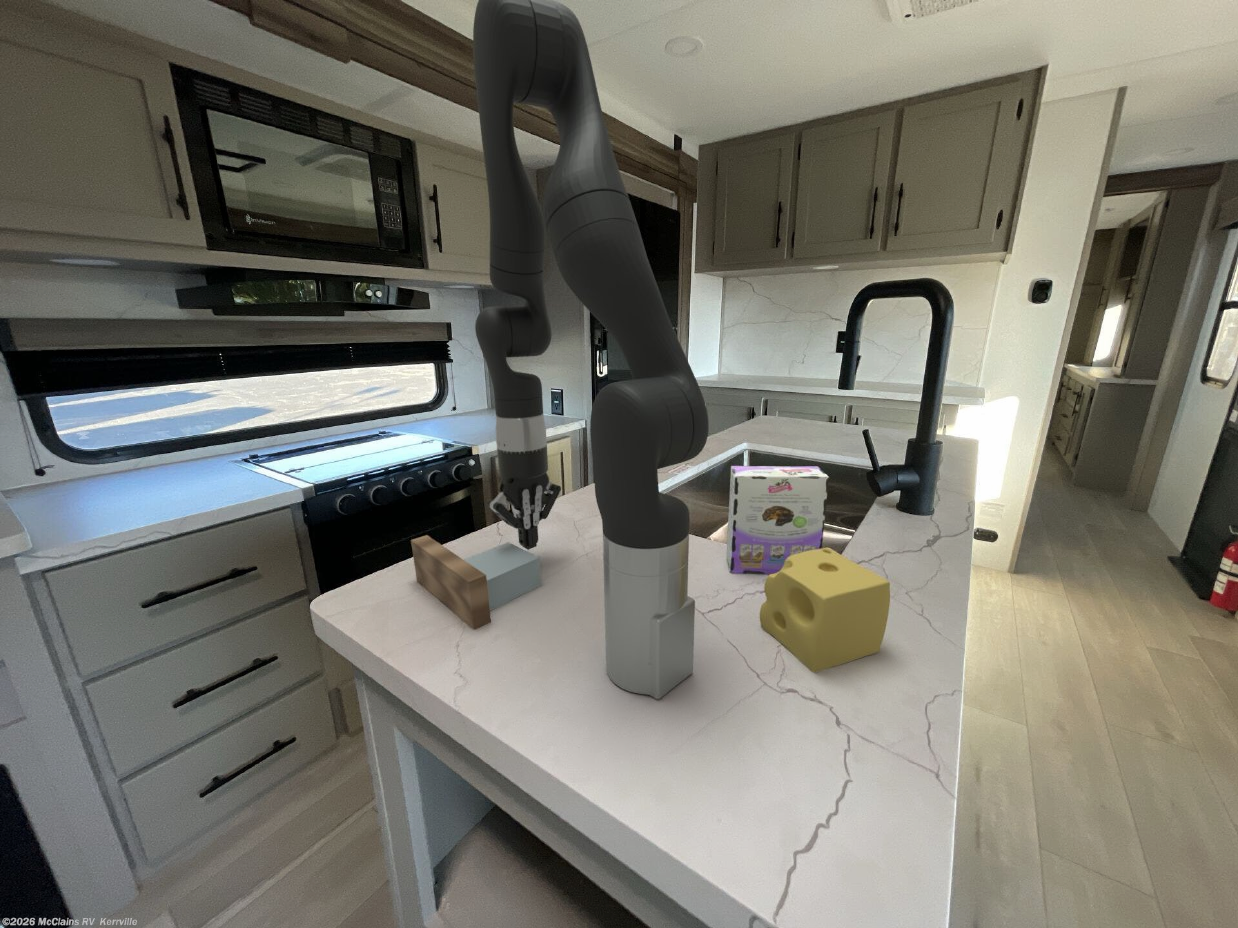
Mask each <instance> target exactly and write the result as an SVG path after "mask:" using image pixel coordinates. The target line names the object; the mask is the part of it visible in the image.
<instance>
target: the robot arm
mask: <svg viewBox="0 0 1238 928" xmlns="http://www.w3.org/2000/svg"><path fill="white" fill-rule="evenodd" d="M476 3H477V4H476V8H475V13H474V18H473V29H472V32H473V33H472V38H473V39H472V40H473V42H472V49H473V51H472V52H473V54H472V55H473V69H474V79H475V88H476V96H477V97H476V98H477V106H478V114H479V115H478V116H479V117H478V119H479V127H480V134H481V135H480V136H481V142H482V143H481V145H482V151H483V158H484V160H483V161H484V168H485V175H486V181H487V182H486V184H487V193H488V194H487V195H488V206H489V207H488V210H489V280H490V284H491V285H492V286H493V288H494V289H496V290H497V291H500V292H502V293H504V294H508V295H510V296H514V297H515V296H516V297H519V298H522V299H523V300H524V305H523V306H488V307H485V308H482V310H480V312H479V313H478V315H477V317H476V320H475V325H474V328H475V329H474V330H475V336H476V339H477V342H478V343H477V344H478V346H479V348H480V350H481V352H482V355H483V358H484V360H485V363H486V365H487V369H488V373H489V374H490V376H489V377H490V378H491V379H490V380H491V383H492V387H493V395H494V396H493V397H494V408H495V439H496V440H495V441H496V442H495V443H496V450H497V451H496V453H497V464H498V473H499V476H500V484H499V487H498V491H499V493H498V494H497V495H496V497H495V498H494V499H489V500H488V501H487V503H486V505H487V507H488V508H489V509H490V510H491V511H492V512H493V513H494V514H495V515H496V516H498V518H499V519H501V520H502V521H503V522H504V523H505V524H506V525H508V526H510V527H512V528H514V529H516V530H517V533H518V534H517V535H518V544H519V545H520V546H522V548H523V549H525V550H528V551H529V550H531V549H534V548H536V547H537V543H538V542H539V524H540V521H542V520H546V519H547V518H548V517H549V515H550V513H551V510H552V509H553V506H554V504H555V502H556V500H557V499H558V496H559V495H560V493H561V490H562V487H561V486H560V485H558V484H557V483H553V482H552V481H550V476H549V475H548V471H549V461H548V459H549V458H548V456H549V455H548V444H547V443H548V441H547V427H546V421H545V416H544V402H543V386H542V381H541V380H542V379H540V377H539V376H538V375H536V374H533V373H527V372H521V371H515V370H513V369H512V368H511V367H510V365H509V363H508V361H507V358H519V357H520V358H523V357H525V358H527V357H538V356H541V355H543V354H544V353H545V352H546V351H547V350H548V348H549V347H550V344H551V341H552V334H553V333H552V328H551V327H552V326H551V322H550V317H549V313H548V309H547V304H546V296H545V288H544V268H545V267H544V265H545V253H546V235H548V239H549V242H550V245H551V248H552V252H553V254H554V257H555V261H556V264H557V267H558V269H559V272H560V275H561V276H562V278H563V280H564V282H565V283H566V285H567V286H568V288H569V289H570V290H571V292H572V293H573V294H574V295H575V297H576V298H577V299H578V300H579V302H580V303H582V305H583V306H584V307H585V308H586V309H587V310H588V311H589V312H590V313H591V315H592V316H593V317H594V318H595V319H596V321H598V322H599V323H600V324H601V325H602V327H604V329H605V330H606V331H607V332H608V333H609V334H610V336H611V337H612V338H613V340H614V341H615V343H616V344H617V345H618V347H619V350H620V351H621V353H622V355H623V357H624V359H625V362H626V364H627V366H628V369H629V371H630V374H631V378H632V379H627V380H626V379H625V380H619V381H615V382H611V383H609V384H606V385H605V386H603V387H602V388H601V389H600V390H599V391H598V393H597V394H596V396H595V397H594V400H593V404H592V407H591V411H590V413H591V414H590V422H589V427H590V428H589V429H590V431H589V432H590V447H591V448H590V449H591V458H592V459H591V460H592V468H593V470H592V471H593V480H594V494H595V500H596V505H597V508H598V511H599V514H600V518H601V523H602V551H603V553H602V555H603V557H602V558H603V561H602V562H603V595H604V596H603V598H604V599H603V600H604V633H605V634H604V639H605V667H606V673H607V675H608V677H609V679H610V680H611V681H612V682H613V683H614V684H615V685H616V686H617V687H619V688H621V689H623V690H625V691H627V692H629V693H630V692H631V693H634V694H641V695H649V696H651V697H653V698H654V699H656V700H660V699H661V698H662V697H664V696H665V695H666V694H667V693H668V692H670V691H671V690H672V689H674V688H675V687H676V686H678V685H679V684H680V683H681V682H682V681H684V680H685V679H686V678H688V677H690V676H691V674H693V672H694V650H695V649H694V646H695V645H694V642H695V641H694V640H695V618H696V617H695V613H696V610H695V609H696V608H695V607H696V602H695V599H694V598H692V597H691V596H688V591H689V590H688V588H689V585H688V583H689V553H690V551H689V549H690V524H691V523H690V522H691V521H690V511H689V508H688V505H687V504H686V503H685V502H684V501H683V500H682V499H680V498H677V497H676V496H674V495H671V494H667V493H663V492H660V491H659V490H660V487H659V475H658V474H659V473H658V470H660V469H663V468H667V467H671V466H674V465H678V464H681V463H685V462H688V461H691V460H692V459H694V458H696V457H697V456H698V455H699V454H700V453H701V452H702V451H703V450H704V447H705V446H706V444H707V442H708V441H707V440H708V437H709V431H710V430H709V426H710V425H709V424H710V423H709V415H708V413H709V412H708V409H707V405H706V401H705V398H704V396H703V393H702V390H701V387H700V386H699V383H698V381H697V379H696V377H695V374H694V371H693V370H692V369H693V368H692V367H691V365H690V363H689V361H688V359H687V356H686V354H685V352H684V349H683V348H682V345H681V343H680V341H679V338H678V336H677V333H676V331H675V330H674V326H673V324H672V321H671V320H670V317H669V313H668V312H667V309H666V306H665V303H664V300H663V298H662V295H661V292H660V288H659V287H658V284H657V281H656V278H655V275H654V272H653V269H652V267H651V264H650V261H649V259H648V256H647V251H646V249H645V245H644V241H643V238H642V235H641V231H640V228H639V224H638V220H637V219H636V215H635V212H634V209H633V207H632V203H631V200H630V198H629V195H628V192H627V189H626V187H625V184H624V182H623V178H622V175H621V172H620V169H619V166H618V163H617V159H616V157H615V153H614V150H613V146H612V144H611V143H612V142H611V140H610V137H609V134H608V133H609V132H608V130H607V126H606V123H605V119H604V116H603V115H604V114H603V110H602V106H601V102H600V97H599V92H598V87H597V83H596V78H595V73H594V70H593V69H594V68H593V66H592V65H593V64H592V60H591V56H590V52H589V51H590V50H589V47H588V43H587V39H586V36H585V32H584V30H583V28H582V25H581V22H580V21H579V18H578V17H577V16H576V14H575V13H574V11H572V10H571V8H569V7H567V5H565V4H563V3H561V2H559V1H557V0H478V1H477V2H476ZM517 103H518V104H522V105H528V106H533V107H534V106H535V107H538V108H545V110H546V109H547V111H548V112H550V114H551V116H552V117H553V120H554V122H555V125H556V129H557V132H558V138H559V143H560V144H559V150H558V152H557V156H556V159H555V162H554V165H553V167H552V170H551V173H550V176H549V179H548V182H547V185H546V187H545V192H544V196H543V205H542V207H541V205H540V202H539V199H538V198H537V195H536V192H535V190H534V188H533V186H532V183H531V182H530V179H529V177H528V175H527V172H526V169H525V167H524V165H523V162H522V159H521V156H520V154H519V153H520V152H519V149H518V145H517V141H516V136H515V126H514V104H517ZM546 232H547V234H546ZM508 503H509V505H511V510H512V513H511V511H509V510H508V507H509V506H508Z"/></svg>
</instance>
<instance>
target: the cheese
mask: <svg viewBox="0 0 1238 928" xmlns="http://www.w3.org/2000/svg"><path fill="white" fill-rule="evenodd" d="M890 583H891V582H890V581H889V580H887V579H885V578H884V577H883V576H881V575H879V574H877V573H876V572H873V571H871V569H868V568H867V567H863V566H861V565H860V564H858V563H856V562H854V561H852V560H851V559H849V558H847V557H846V556H844V555H842V554H840V553H838V551H836V550H834V549H832V548H830V547H822V549H817V550H810V551H805V552H802V553H798V554H794V555H791V556H789V557H788V558H787V559H786V561H785V563H784V566H783V568H782V569H781V570H780V571H779V572H777V573H775V574H767V577H766V578H765V581H764V587H763V588H764V589H763V592H764V594H765V598H766V601H764V602H762V604H761V606H760V610H759V622H760V627H761V628H762V629H763V630H764V631H766V632H767V633H768V634H769V635H771V636H773V637H774V638H775V639H776V640H777V641H778V642H780V643H781V644H782V645H783V646H784V647H785V648H786V649H787V650H788V651H789V652H791V653H792V654H793V655H794V656H795V657H796V658H797V659H798V660H799V661H800V662H801V663H802V664H803V665H804V666H805V667H806V668H807V669H809V670H810V671H811V672H812V673H818V672H821V671H823V670H828V669H830V668H834V667H838V666H840V665H843V664H846V663H849V662H852V661H855V660H857V659H860V658H863V657H866V656H870V655H874V654H878V653H879V652H880V649H881V646H882V642H883V639H884V637H885V634H886V633H885V632H886V628H887V625H888V624H887V622H888V617H889V611H890V605H891V587H890Z"/></svg>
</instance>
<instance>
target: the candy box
mask: <svg viewBox="0 0 1238 928" xmlns="http://www.w3.org/2000/svg"><path fill="white" fill-rule="evenodd" d="M829 480H830V476H828V474H826V473H825V472H824V471H823V470H822V469H821V468H820V467H819V466H816V465H815V466H811V465H810V466H796V465H795V466H792V465H791V466H785V465H784V466H776V465H773V466H772V465H771V466H769V465H767V466H766V465H763V466H762V465H760V466H759V465H757V466H755V465H753V466H752V465H731V466H730V480H729V481H730V482H729V483H730V485H729V501H728V502H729V503H728V504H729V505H728V522H727V537H726V538H727V539H726V540H727V543H726V561H727V565H728V570H729V573H731V574H742V575H743V574H748V575H749V574H751V575H770V574H775V573H777V572H779V571H780V570H781V569H782V568H783V566H784V563H785V561H786V559H787V558H788V557H789V556H791V555H794V554H798V553H802V552H805V551H810V550H817V549H822V548H823V541H824V540H823V539H824V529H825V520H826V508H827V497H828V490H829V489H828V488H829V482H830V481H829Z"/></svg>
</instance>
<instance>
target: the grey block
mask: <svg viewBox="0 0 1238 928" xmlns="http://www.w3.org/2000/svg"><path fill="white" fill-rule="evenodd" d="M540 559H541V557H540V556H538V555H536V554H534V553H531V552H529V550H528V551H527V549H524V548H521V547H519V546H517V545H516V544H513V543H510V541H508V542H505V543H502V544H500V545H496V546H495V547H492V548H489V549H487V550H484V551H482V552H480V553H477V554H474V555H472V556H470V557H467V558H464V559H463V560H465V561H466V562H468V563H469V564H471V565H472V566H473V567H475V568H476V569H478V570H479V571H481V572H482V573H484V574H485V575H486V578H487V588H488V598H489V608H490V612H491V611H493V610H495V609H497V608H499V607H501V606H503V605H505V604H507V603H509V602H511V601H514V600H515V599H517V598H519V597H521V596H523V595H525V594H526V593H529V592H531V591H533V590H535V589H537V588H539V587H541V586H542V574H541V572H542V571H541V560H540Z"/></svg>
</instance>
